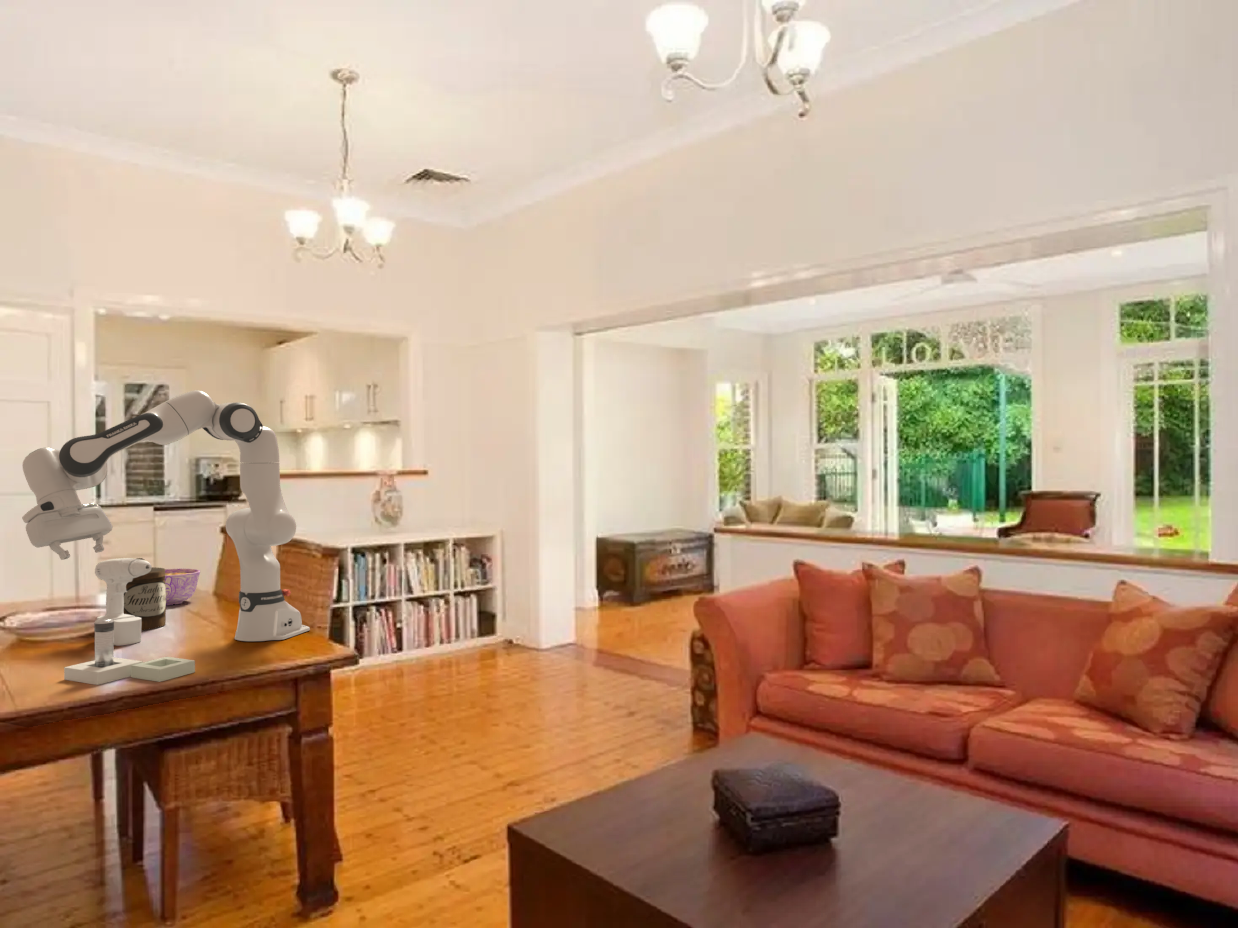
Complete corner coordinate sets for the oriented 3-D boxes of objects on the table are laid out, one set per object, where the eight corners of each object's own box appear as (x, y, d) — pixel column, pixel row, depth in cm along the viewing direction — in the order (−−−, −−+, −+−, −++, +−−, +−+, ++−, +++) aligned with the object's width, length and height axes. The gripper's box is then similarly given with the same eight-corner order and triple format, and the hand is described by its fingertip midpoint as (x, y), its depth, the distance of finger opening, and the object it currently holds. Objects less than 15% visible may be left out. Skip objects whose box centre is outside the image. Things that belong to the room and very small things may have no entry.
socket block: (110, 668, 219) (110, 656, 219) (143, 673, 214) (143, 661, 214) (64, 679, 208) (64, 667, 208) (97, 684, 203) (97, 672, 203)
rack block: (166, 668, 219) (166, 656, 219) (194, 672, 215) (194, 660, 215) (131, 677, 210) (131, 665, 210) (160, 681, 206) (159, 669, 206)
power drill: (132, 650, 238) (132, 561, 238) (87, 640, 251) (87, 556, 251) (162, 644, 246) (162, 558, 245) (117, 635, 258) (117, 553, 258)
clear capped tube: (106, 673, 214) (106, 617, 214) (117, 675, 212) (118, 619, 212) (90, 677, 210) (90, 620, 210) (102, 679, 208) (102, 622, 208)
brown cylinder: (129, 633, 261) (129, 562, 261) (102, 628, 269) (102, 558, 269) (175, 625, 274) (175, 557, 274) (148, 620, 282) (148, 554, 282)
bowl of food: (157, 610, 300) (157, 577, 300) (128, 604, 311) (128, 572, 311) (211, 602, 317) (211, 571, 317) (181, 596, 328) (181, 567, 328)
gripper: (91, 507, 231) (112, 552, 229) (15, 518, 212) (37, 568, 210) (105, 496, 228) (126, 542, 227) (29, 507, 209) (52, 557, 208)
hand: (83, 554), depth 219 cm, fingers open, 8 cm apart
